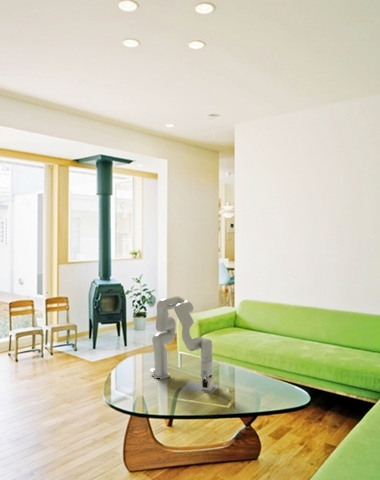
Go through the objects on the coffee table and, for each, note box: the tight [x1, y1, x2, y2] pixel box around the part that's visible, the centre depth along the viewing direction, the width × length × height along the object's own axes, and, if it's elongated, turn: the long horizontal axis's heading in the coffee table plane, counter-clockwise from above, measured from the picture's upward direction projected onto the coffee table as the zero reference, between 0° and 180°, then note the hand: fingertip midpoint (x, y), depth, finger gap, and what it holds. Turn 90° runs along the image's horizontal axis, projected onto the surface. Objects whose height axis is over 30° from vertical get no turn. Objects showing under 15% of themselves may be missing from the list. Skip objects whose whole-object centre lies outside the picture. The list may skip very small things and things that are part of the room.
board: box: [181, 380, 221, 395], centre depth 263 cm, size 22×15×1 cm
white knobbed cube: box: [200, 376, 215, 391], centre depth 261 cm, size 7×7×7 cm
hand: (207, 384), depth 261 cm, fingers open, 8 cm apart
